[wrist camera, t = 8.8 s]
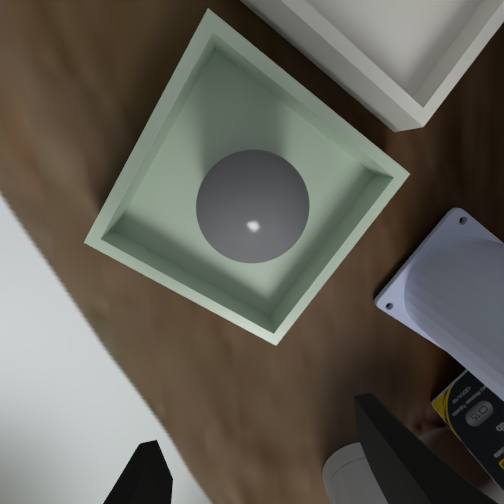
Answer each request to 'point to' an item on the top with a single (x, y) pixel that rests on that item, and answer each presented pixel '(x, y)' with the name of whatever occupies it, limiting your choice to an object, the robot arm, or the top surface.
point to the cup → (351, 478)
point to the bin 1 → (220, 146)
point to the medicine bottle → (475, 421)
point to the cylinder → (252, 206)
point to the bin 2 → (388, 47)
